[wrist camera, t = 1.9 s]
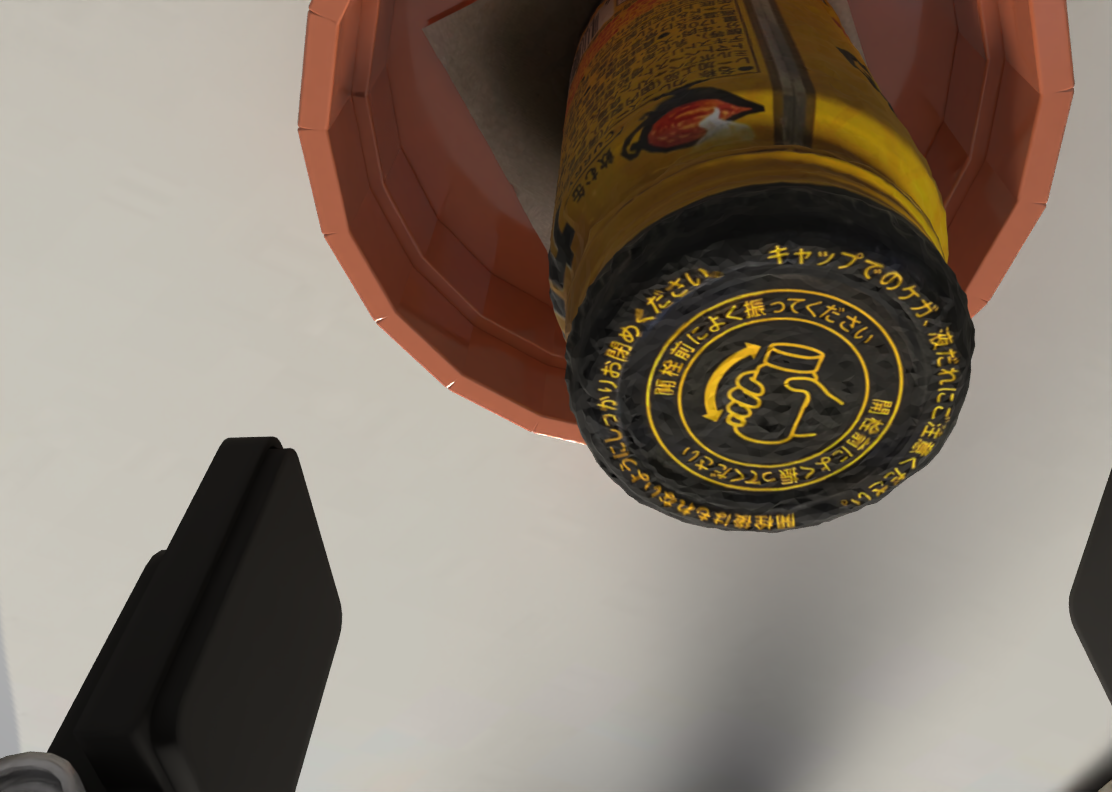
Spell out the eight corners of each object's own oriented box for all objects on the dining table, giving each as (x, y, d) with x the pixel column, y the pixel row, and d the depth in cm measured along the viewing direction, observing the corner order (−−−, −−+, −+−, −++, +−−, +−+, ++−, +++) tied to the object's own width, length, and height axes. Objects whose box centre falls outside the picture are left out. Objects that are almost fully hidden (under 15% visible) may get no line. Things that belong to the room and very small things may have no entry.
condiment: (894, 155, 23) (1092, 508, 13) (567, 285, 25) (534, 661, 16) (795, -168, 19) (971, -1, 10) (423, 24, 22) (266, 308, 12)
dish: (286, -264, 19) (206, -247, 15) (1064, -330, 18) (1178, -331, 14) (406, 356, 27) (374, 460, 24) (938, 339, 26) (989, 447, 23)
